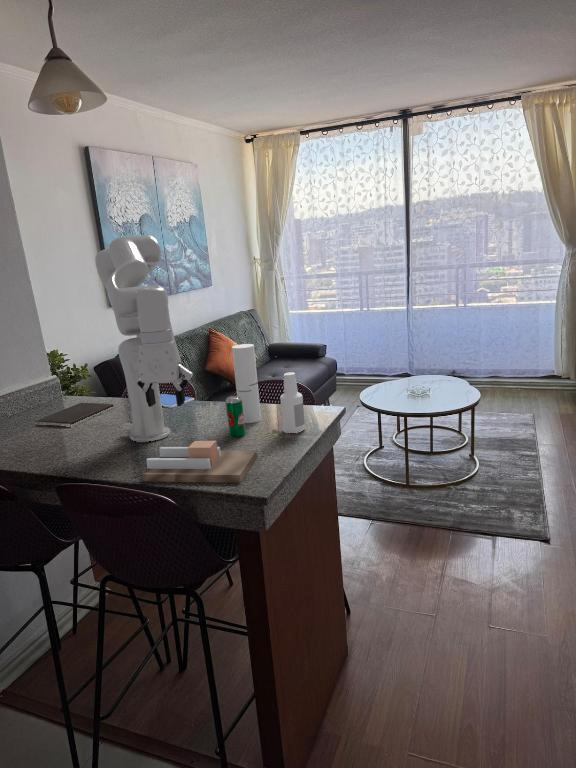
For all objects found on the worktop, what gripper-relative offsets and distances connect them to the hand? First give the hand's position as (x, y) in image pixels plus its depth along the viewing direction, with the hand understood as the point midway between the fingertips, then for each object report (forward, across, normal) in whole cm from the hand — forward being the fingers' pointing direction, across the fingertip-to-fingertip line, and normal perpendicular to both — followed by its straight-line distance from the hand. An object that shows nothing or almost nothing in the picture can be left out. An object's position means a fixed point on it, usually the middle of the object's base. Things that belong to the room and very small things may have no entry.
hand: (166, 404), depth 142 cm
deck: (+18, +7, 0) cm, 19 cm away
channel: (+16, +3, 0) cm, 16 cm away
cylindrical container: (+18, +10, +41) cm, 46 cm away
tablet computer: (+19, -32, +66) cm, 76 cm away
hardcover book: (+19, -60, +48) cm, 79 cm away
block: (+16, +8, 0) cm, 18 cm away
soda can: (+18, +10, +26) cm, 33 cm away
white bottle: (+18, +26, +30) cm, 44 cm away
